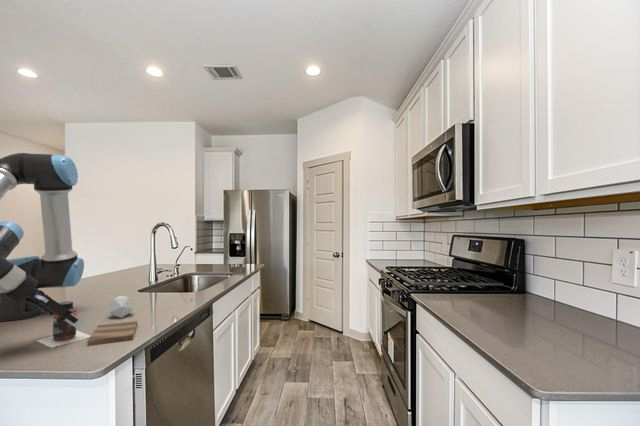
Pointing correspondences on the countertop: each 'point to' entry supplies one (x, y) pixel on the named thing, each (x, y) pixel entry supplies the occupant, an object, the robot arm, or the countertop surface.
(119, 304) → the die
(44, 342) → the white tile
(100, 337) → the walnut board
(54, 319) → the supplement bottle
